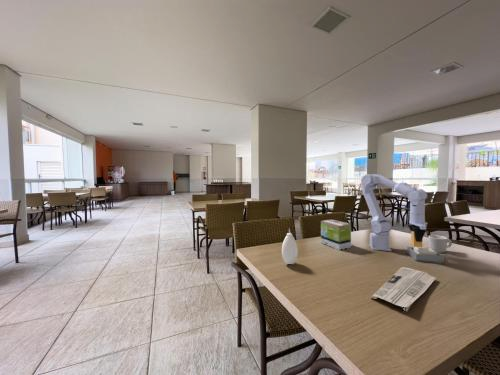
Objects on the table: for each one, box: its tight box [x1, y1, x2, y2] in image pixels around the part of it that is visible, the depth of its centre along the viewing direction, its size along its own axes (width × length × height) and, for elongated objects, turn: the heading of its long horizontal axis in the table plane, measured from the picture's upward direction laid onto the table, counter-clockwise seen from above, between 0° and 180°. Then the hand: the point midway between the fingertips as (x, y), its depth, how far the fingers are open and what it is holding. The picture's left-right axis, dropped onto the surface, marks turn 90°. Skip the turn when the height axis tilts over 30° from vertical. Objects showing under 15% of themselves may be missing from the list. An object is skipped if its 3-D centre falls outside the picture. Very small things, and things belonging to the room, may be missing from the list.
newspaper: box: [371, 266, 437, 313], centre depth 78 cm, size 35×12×4 cm, turn 130°
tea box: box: [320, 218, 352, 251], centre depth 128 cm, size 15×10×15 cm, turn 25°
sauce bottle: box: [281, 228, 299, 265], centre depth 102 cm, size 8×8×18 cm
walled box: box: [406, 246, 445, 264], centre depth 106 cm, size 11×11×4 cm
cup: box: [427, 234, 453, 254], centre depth 114 cm, size 11×8×8 cm
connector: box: [410, 231, 423, 247], centre depth 105 cm, size 4×4×8 cm
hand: (417, 240), depth 105 cm, fingers closed on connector, 3 cm apart
